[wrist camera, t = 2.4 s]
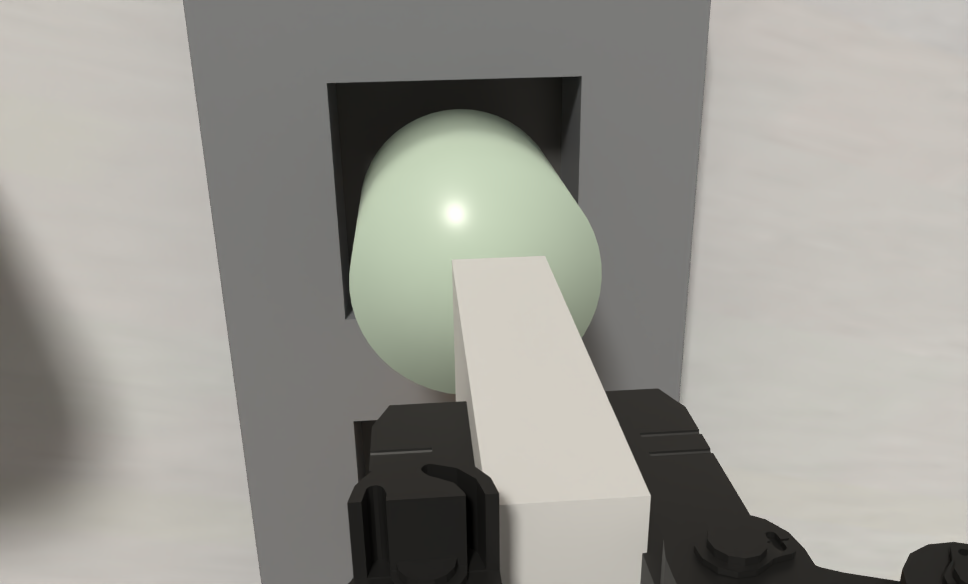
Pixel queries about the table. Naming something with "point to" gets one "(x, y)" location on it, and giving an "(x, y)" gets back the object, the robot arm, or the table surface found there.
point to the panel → (337, 191)
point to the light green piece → (458, 233)
